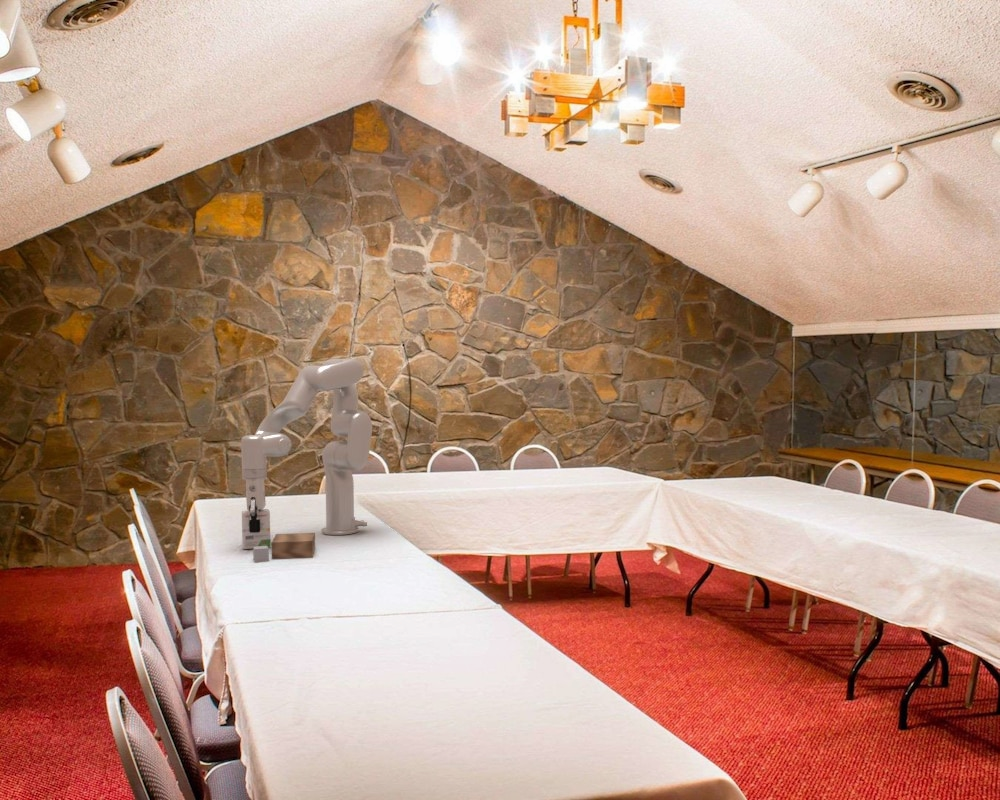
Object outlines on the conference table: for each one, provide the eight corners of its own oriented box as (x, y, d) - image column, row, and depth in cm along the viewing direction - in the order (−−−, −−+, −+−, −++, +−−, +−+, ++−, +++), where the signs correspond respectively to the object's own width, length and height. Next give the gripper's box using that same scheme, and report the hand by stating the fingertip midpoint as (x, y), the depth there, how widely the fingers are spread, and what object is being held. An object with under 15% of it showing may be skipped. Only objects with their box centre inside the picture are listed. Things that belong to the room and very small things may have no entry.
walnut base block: (315, 548, 290) (314, 532, 290) (312, 557, 277) (312, 541, 277) (276, 549, 288) (276, 534, 288) (271, 558, 276) (271, 542, 275)
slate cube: (266, 558, 276) (266, 545, 276) (268, 561, 273) (268, 548, 272) (253, 560, 275) (253, 546, 274) (255, 562, 271) (254, 549, 271)
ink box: (269, 544, 296) (268, 508, 295) (270, 547, 291) (269, 510, 290) (242, 546, 293) (241, 510, 292) (243, 549, 288) (241, 512, 288)
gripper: (263, 477, 283) (265, 535, 284) (269, 470, 300) (271, 524, 301) (238, 478, 282) (240, 536, 283) (245, 470, 299) (247, 525, 300)
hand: (256, 529), depth 292 cm, fingers closed on ink box, 5 cm apart
